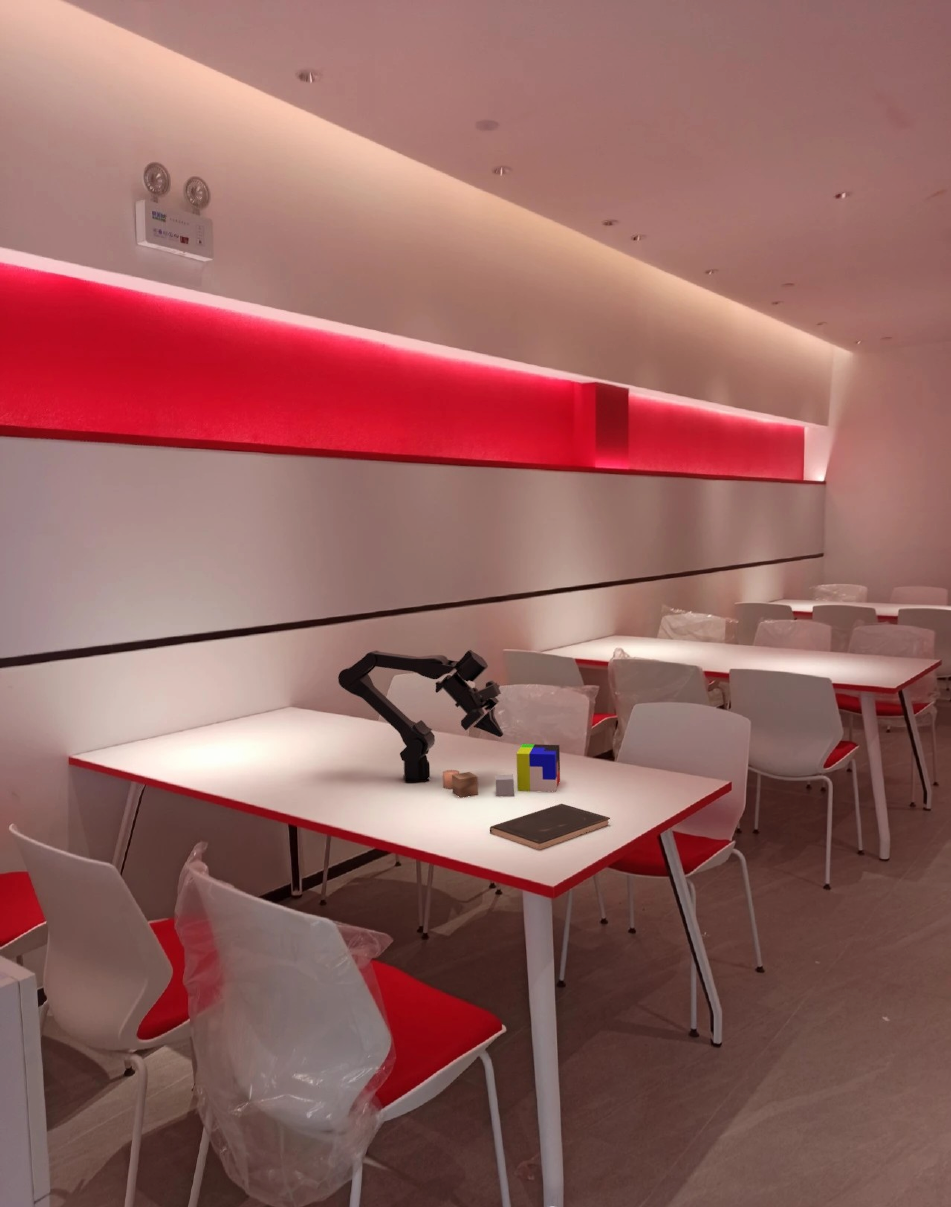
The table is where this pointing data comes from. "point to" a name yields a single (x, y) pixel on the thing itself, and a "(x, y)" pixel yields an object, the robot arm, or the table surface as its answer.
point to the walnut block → (465, 784)
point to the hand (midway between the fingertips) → (501, 735)
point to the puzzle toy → (538, 768)
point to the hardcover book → (549, 826)
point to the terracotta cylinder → (448, 778)
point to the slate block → (504, 785)
